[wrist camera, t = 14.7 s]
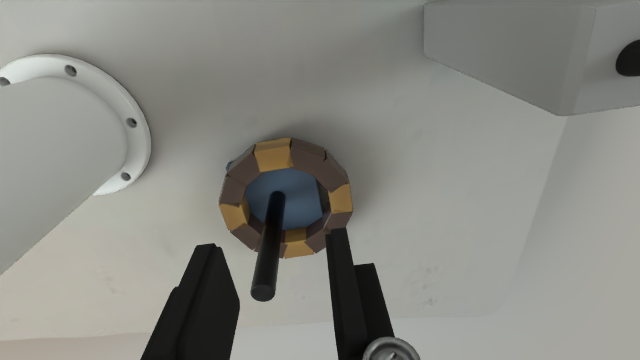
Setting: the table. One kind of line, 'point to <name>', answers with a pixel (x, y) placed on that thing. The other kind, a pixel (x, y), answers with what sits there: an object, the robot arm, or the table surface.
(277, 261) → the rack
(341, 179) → the ring
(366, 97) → the table surface
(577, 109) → the vintage mobile phone
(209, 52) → the table surface
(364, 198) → the table surface
